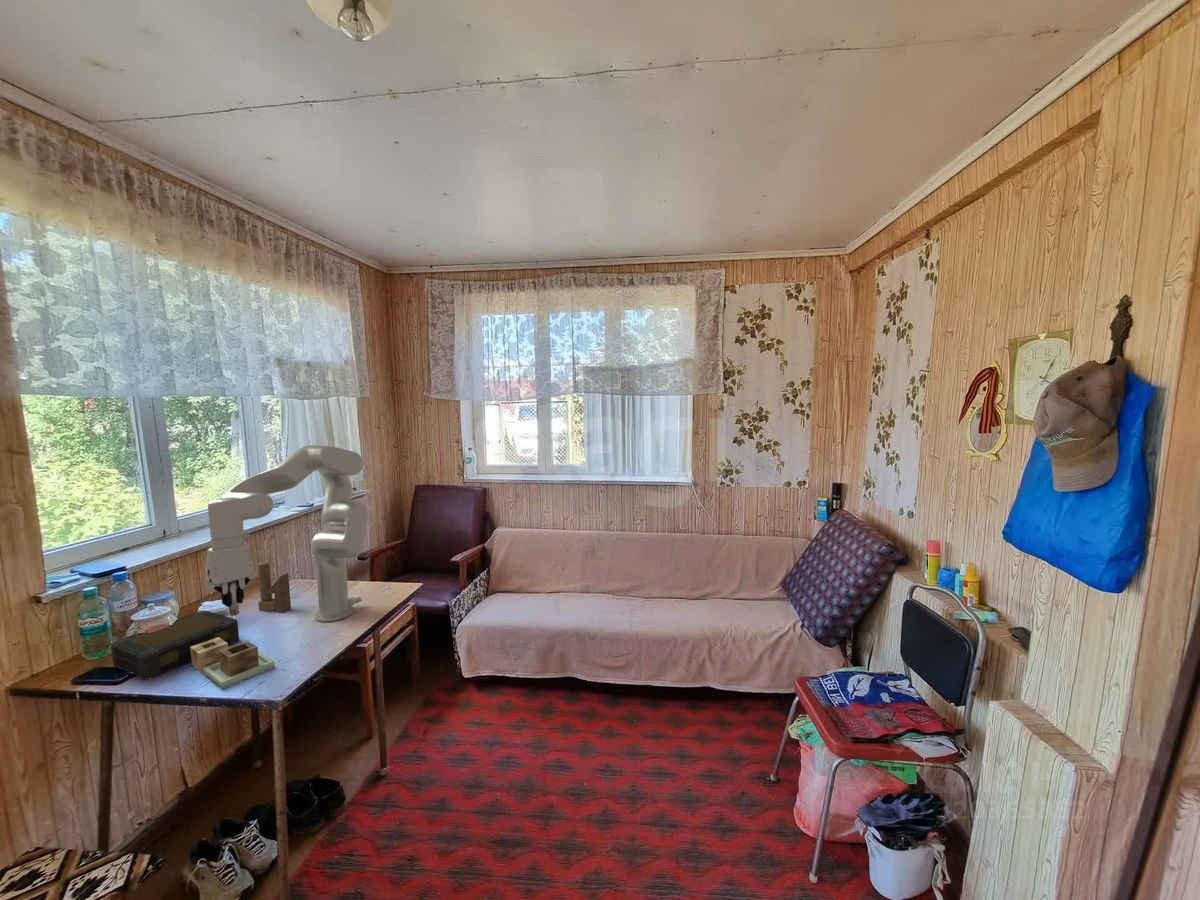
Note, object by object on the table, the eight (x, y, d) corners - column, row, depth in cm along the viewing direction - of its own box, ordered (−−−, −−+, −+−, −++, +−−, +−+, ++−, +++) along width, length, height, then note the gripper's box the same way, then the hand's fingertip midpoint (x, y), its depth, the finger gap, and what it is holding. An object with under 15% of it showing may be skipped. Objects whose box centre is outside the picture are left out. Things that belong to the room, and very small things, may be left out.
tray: (255, 654, 150) (254, 648, 150) (274, 667, 143) (274, 661, 143) (203, 674, 139) (202, 668, 139) (222, 689, 132) (221, 682, 132)
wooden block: (283, 613, 179) (280, 566, 177) (258, 611, 181) (254, 564, 179) (291, 608, 183) (288, 562, 181) (266, 606, 185) (263, 561, 183)
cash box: (205, 629, 167) (203, 608, 166) (241, 641, 159) (239, 619, 158) (109, 666, 144) (106, 642, 143) (146, 682, 136) (143, 656, 135)
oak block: (220, 655, 150) (218, 637, 149) (229, 662, 146) (227, 643, 145) (192, 666, 144) (190, 646, 143) (201, 673, 140) (199, 653, 140)
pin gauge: (237, 611, 141) (234, 578, 139) (240, 613, 139) (237, 580, 138) (228, 614, 139) (225, 581, 138) (231, 616, 137) (228, 582, 136)
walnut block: (248, 659, 146) (246, 640, 145) (259, 666, 142) (257, 646, 141) (220, 670, 140) (218, 650, 139) (230, 677, 136) (229, 657, 136)
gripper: (254, 533, 145) (259, 592, 147) (187, 546, 132) (193, 611, 134) (265, 536, 141) (270, 597, 143) (198, 551, 128) (204, 617, 130)
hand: (233, 603), depth 139 cm, fingers closed on pin gauge, 2 cm apart
